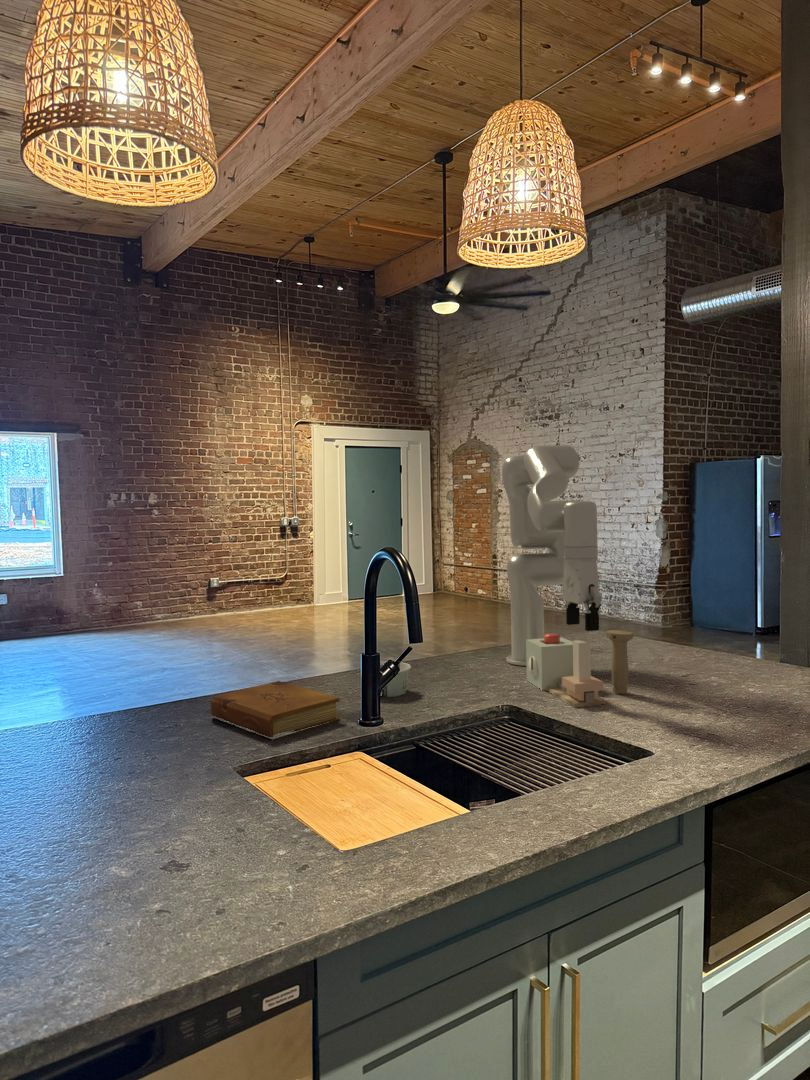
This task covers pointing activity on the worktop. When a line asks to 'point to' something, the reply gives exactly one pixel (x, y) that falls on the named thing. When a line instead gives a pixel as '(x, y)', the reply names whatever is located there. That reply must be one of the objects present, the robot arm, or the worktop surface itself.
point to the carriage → (582, 673)
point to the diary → (275, 708)
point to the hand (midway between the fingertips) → (582, 627)
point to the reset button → (551, 638)
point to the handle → (619, 659)
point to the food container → (397, 682)
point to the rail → (562, 694)
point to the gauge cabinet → (548, 662)
